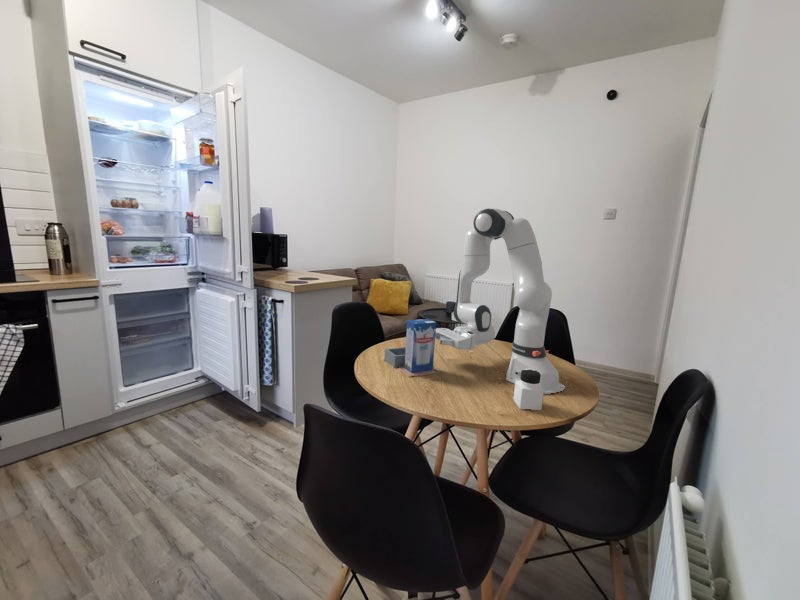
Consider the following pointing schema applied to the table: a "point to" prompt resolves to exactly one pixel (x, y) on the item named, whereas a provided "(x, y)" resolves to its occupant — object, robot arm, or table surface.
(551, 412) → the table surface
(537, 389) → the medicine bottle
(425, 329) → the milk carton
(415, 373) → the terracotta tile
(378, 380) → the table surface
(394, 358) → the carton holder
